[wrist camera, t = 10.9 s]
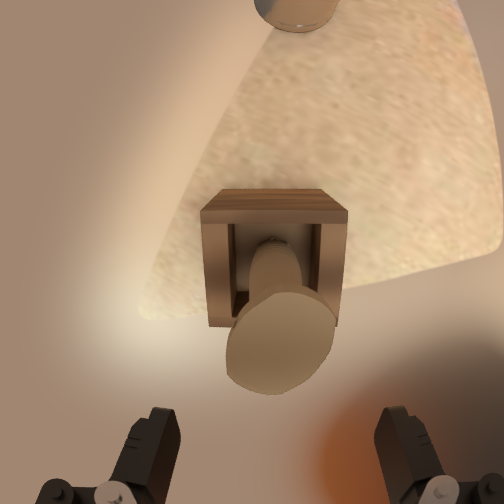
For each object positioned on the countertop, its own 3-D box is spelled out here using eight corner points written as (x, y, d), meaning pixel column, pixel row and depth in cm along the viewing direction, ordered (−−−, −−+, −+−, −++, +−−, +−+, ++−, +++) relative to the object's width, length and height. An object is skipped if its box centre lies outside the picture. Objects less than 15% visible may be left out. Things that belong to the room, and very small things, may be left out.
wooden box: (222, 189, 34) (200, 210, 23) (321, 189, 34) (348, 210, 22) (225, 272, 37) (209, 326, 26) (317, 272, 37) (337, 326, 26)
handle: (313, 233, 28) (355, 317, 14) (280, 290, 30) (289, 403, 16) (265, 210, 28) (264, 276, 13) (235, 270, 30) (209, 375, 15)
